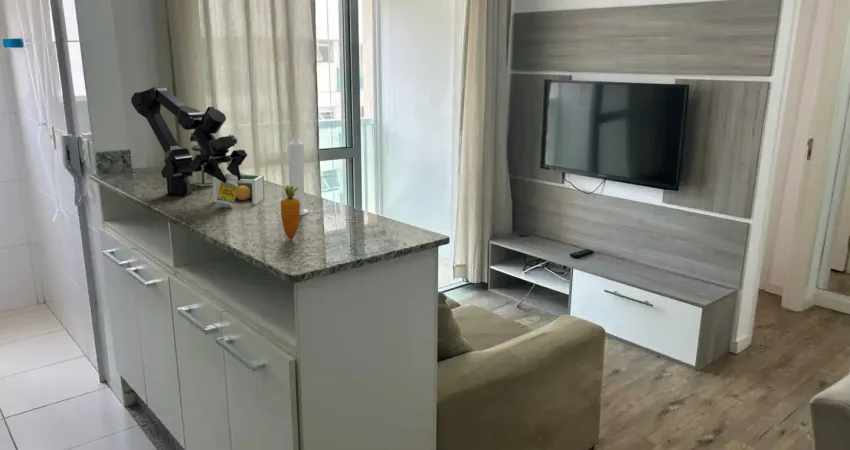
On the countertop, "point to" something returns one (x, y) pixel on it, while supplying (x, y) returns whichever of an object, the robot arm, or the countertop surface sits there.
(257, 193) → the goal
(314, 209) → the countertop surface
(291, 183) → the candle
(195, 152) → the coffee can
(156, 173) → the countertop surface
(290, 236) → the carrot
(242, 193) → the ball
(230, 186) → the supplement bottle
